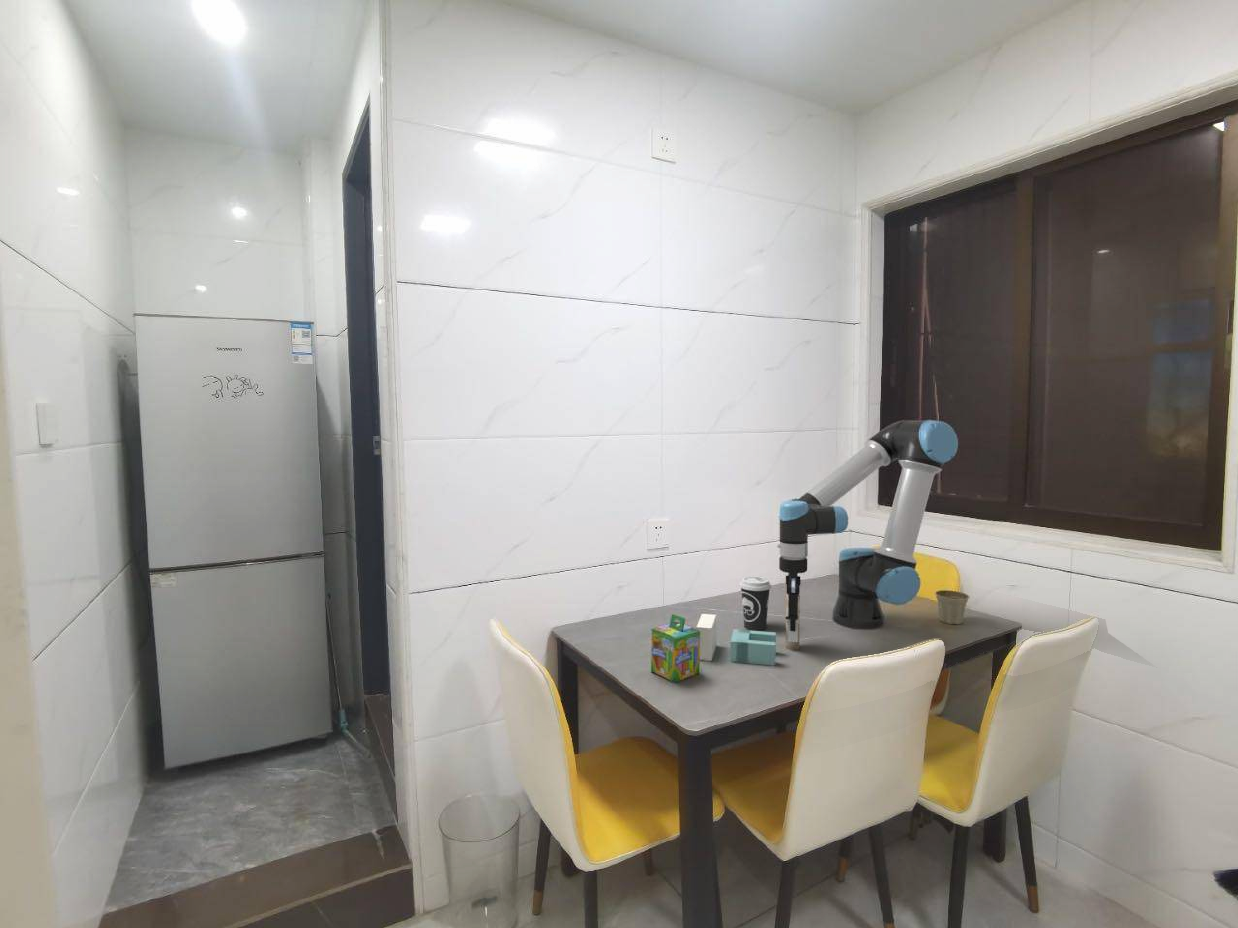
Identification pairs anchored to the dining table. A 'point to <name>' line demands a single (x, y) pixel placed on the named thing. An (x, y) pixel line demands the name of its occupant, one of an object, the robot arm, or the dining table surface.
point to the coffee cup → (755, 602)
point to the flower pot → (951, 606)
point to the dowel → (788, 644)
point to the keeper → (753, 647)
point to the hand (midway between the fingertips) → (792, 638)
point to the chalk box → (675, 650)
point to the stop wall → (707, 636)
